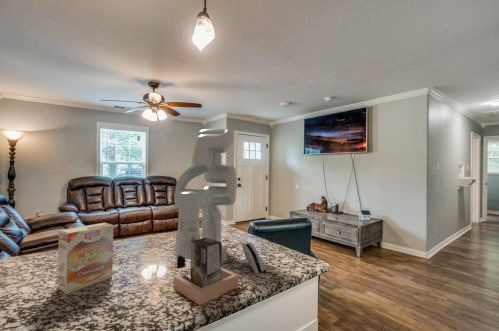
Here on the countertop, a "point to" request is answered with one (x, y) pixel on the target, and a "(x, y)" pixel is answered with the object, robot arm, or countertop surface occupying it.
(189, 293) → the bracket
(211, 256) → the coffee box
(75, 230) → the coffeecake box
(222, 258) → the light grey cube
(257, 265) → the grey game console
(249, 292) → the countertop surface
